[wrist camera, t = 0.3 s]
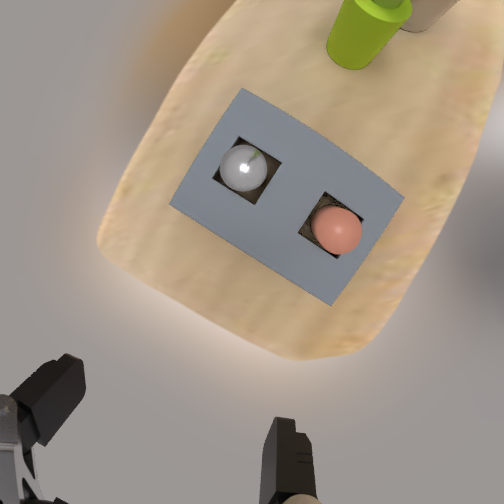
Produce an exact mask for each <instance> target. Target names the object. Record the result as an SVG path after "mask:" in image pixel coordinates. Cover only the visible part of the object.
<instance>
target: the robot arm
mask: <svg viewBox="0 0 504 504" xmlns="http://www.w3.org/2000/svg"><path fill="white" fill-rule="evenodd" d="M410 1H411V4H412V13H411V16H410V17H409V18H408V19H407V21H406V22H405V23H404V24H403V25H402V26H401V27H400V28H401V29H404V30H407V31H410V32H422V31H424V30H426V29H427V28H428V27H430V26H431V25H432V24H433V23H434V22H435V21H436V20H437V19H439V18H440V17H441V16H442V15H443V14H444V13H445V12H446V11H448V10H449V9H450V8H451V7H452V6H453V5H454V4H456V3H457V2H458V1H459V0H410ZM85 391H86V384H85V375H84V365H83V361H82V360H81V359H79V358H77V357H74V356H72V355H70V354H67V353H66V354H64V355H63V356H62V357H61V358H59V359H58V361H56V360H51V361H49V362H46V363H44V364H43V365H42V366H40V367H39V368H38V369H37V370H36V372H34V373H33V374H32V375H31V377H28V378H27V379H26V380H25V381H24V382H23V383H22V384H21V385H20V386H19V387H18V388H17V389H16V390H14V391H13V392H12V393H11V394H10V395H9V396H8V395H5V394H0V504H68V503H66V502H65V501H63V500H61V499H59V498H57V497H56V499H55V500H54V502H51V501H46V500H44V497H43V494H42V491H41V489H40V486H39V481H38V475H37V470H36V462H35V454H34V448H33V445H34V444H35V443H36V442H38V443H39V444H41V445H43V446H44V447H45V446H46V445H47V444H48V442H49V441H50V440H51V439H52V437H53V436H54V435H55V433H56V432H57V431H58V429H59V428H60V427H61V426H62V424H63V423H64V422H65V420H66V419H67V418H68V417H69V415H70V414H71V413H72V412H73V410H74V409H75V408H76V407H77V405H78V404H79V403H80V401H81V400H82V399H83V397H84V395H85ZM259 504H322V503H321V502H320V501H319V500H318V498H317V495H316V486H315V475H314V466H313V456H312V445H311V442H310V441H309V439H308V437H307V436H306V434H305V433H298V432H296V427H295V420H294V419H289V418H282V417H275V418H274V420H273V423H272V425H271V428H270V430H269V433H268V435H267V438H266V440H265V443H264V447H263V454H262V471H261V484H260V499H259Z"/></svg>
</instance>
